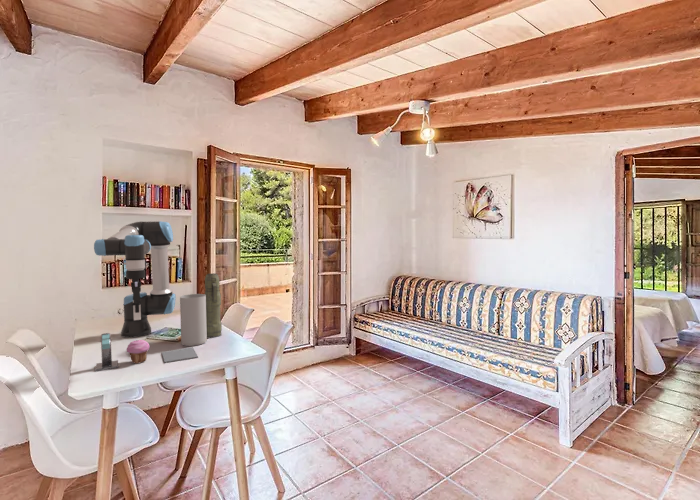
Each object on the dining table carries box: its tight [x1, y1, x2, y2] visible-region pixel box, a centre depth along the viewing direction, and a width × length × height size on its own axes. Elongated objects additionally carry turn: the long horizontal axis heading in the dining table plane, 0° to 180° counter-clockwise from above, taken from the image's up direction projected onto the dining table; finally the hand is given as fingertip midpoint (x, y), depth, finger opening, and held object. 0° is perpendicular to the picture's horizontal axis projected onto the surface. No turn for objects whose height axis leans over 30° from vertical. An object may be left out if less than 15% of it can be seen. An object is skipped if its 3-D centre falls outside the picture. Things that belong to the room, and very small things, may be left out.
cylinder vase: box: [179, 293, 208, 347], centre depth 197 cm, size 12×12×25 cm
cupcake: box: [126, 339, 150, 364], centre depth 169 cm, size 9×9×10 cm
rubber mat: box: [161, 346, 199, 364], centre depth 178 cm, size 16×14×1 cm
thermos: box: [204, 272, 223, 338], centre depth 211 cm, size 9×12×35 cm
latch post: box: [94, 337, 119, 372], centre depth 163 cm, size 8×8×12 cm
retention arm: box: [101, 332, 111, 349], centre depth 156 cm, size 3×19×2 cm, turn 33°
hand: (137, 316), depth 168 cm, fingers open, 13 cm apart
